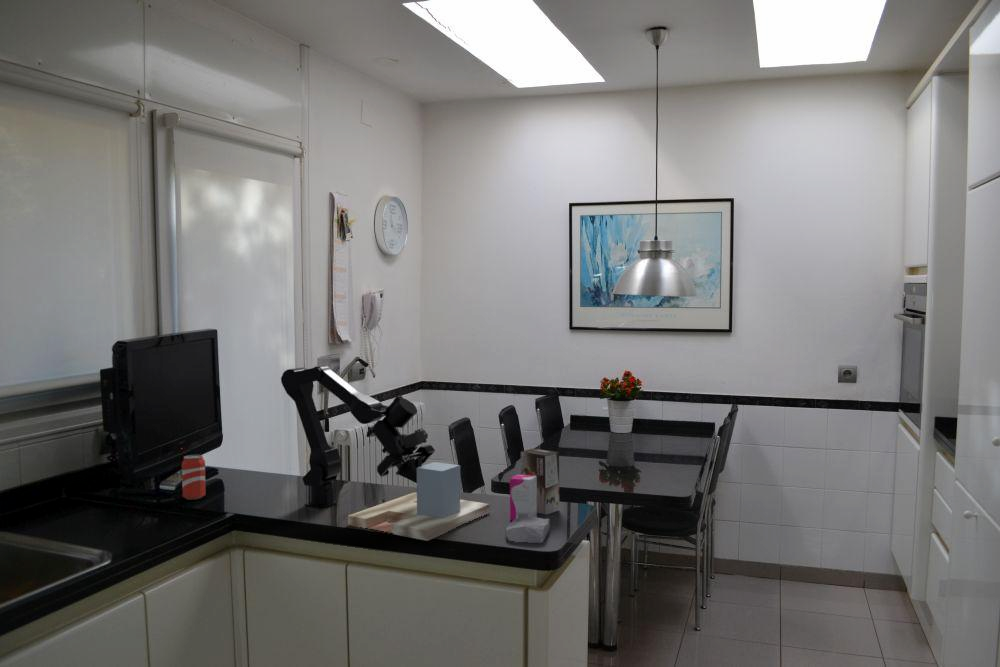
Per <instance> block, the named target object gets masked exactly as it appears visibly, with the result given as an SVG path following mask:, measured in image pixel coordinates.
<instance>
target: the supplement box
mask: <svg viewBox="0 0 1000 667" xmlns="http://www.w3.org/2000/svg"><path fill="white" fill-rule="evenodd" d="M537 515H538V513H537V476H533V475H521V474H515V475H514V476H512V477H511V478H509V522H510V523H511V522H513V520H515V519H519V518H525V517H537V518H538V516H537Z"/></svg>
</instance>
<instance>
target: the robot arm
mask: <svg viewBox="0 0 1000 667" xmlns="http://www.w3.org/2000/svg"><path fill="white" fill-rule="evenodd" d="M280 381H281V382H280V383H281V385H282V387H283V390H285V393H286V394H287V395H288V396H289V397H290V398H291V400H293V401H294V403H295V406H296V410H297V413H298V416H299V419H300V422H301V425H302V428H303V431H304V433H305V437H306V439H307V440H306V441H307V443H308V447H309V449H310V454H309V459H308V460H309V461H308V463H309V468H310V469H309V470H308V472H307V473H306V474H305V475H304V476H303V477H302V481H303V485H305V486H308V488H307V490H308V493H307V494H308V502H305V503H304V506H306V507H311V506H312V508H316V507H317V508H318V509H324V508H326V507H330V506H332V505H336V504H337V503H338V502H337V501H336V500H334V495H335V494H334V493H335V492H334V487H333V484H334V483H333V482H335V481H337V478H338V475H339V473H340V472H341V469H342V462H343V459H342V458H341V456H340V452H339V449H338V448H337V447H335V448H332V447H331V446H330V444H328V440H327V438H326V434H325V431H324V429H323V425H322V422H321V419H320V416H319V414H318V410H317V407H316V405H315V402H314V398H313V391H314V386H315V385H314V382H318V383H319V384H320V385H321V386H323V387H324V388H325V389H326V390H327V391H329V392H330V393H332V394H333V395H334V396H335V397H336V398H337V399H339V400H340V401H341V402H343V403H344V405H346V406H347V408H348V409H349V412H350V414H351V415H352V416H353V417H354V418H355V419H356V421H357V422H358V423H359V424H362V425H367V424H372V423H374V422H375V423H374V424H373V425H372V426H367V432H366V438H373V437H375V438H376V439H377V440H378V441H379V444H380V445H381V446H382V447H383V449H381V452H382V453H383V454H386V453H387V454H388V455H386V456H384V458H383V459H382V460H381V461H380V462H379V464H378V465H377V466H376V473H378V475H379V476H380V478H383V477H386V476H388V475H389V474H390V473H389V469H391V468H395V467H396V469H397V471H396V472H395V475H396V476H400V477H403V478H405V479H407V480H409V481H411V482H413V483H415V484H417V467H421V466H423V465H425V463H426V462H427V461H428V460H429V459H430V457H431V456H433V454H434V453H436V450H435V448H434V447H433V446H432V445H431V444H425V443H427V439H428V437H429V434H428V432H426V430H425V429H424V428H423V427H422V428H418V429H415V430H414V432H412V433H410V434H406V433H403V434H401V432H400V431H399V430H398V428H401V429H403V428H405V426H406V425H407V424H408V423H409V422H410V421H411V420H412V418H414V416H416V414H418V409H417V407H416V405H415V404H414V403H413V402H411V401H410V400H408V399H406V398H404V397H403V396H402V395H398V396H396V397H395V398H394V399H393V401H392V402H391V403H390V404H389V405H384V404H382V402H381V401H379V400H377V399H376V398H373V397H371V396H369V395H366V394H363V393H361V392H359V391H358V390H357V389H355V388H354V387H353V386H351V385H350V384H349V383H348V382H346V381H345V379H343V378H342V377H340V376H339V375H338V374H336V372H334V371H333V370H332V369H331V367H330V366H328V365H317V366H314V367H311V368H306V367H296V368H290V369H285V371H284V372H283V373H282V375H281V377H280ZM421 444H425V445H422V446H421ZM419 445H420V446H419ZM418 446H419V447H418ZM414 451H415V452H414Z"/></svg>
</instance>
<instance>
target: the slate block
mask: <svg viewBox="0 0 1000 667" xmlns="http://www.w3.org/2000/svg"><path fill="white" fill-rule="evenodd" d="M416 492H417V514H420V515H425V516H431V517H437V518H442V519H443V518H445V517H448V516H450V515H452V514H455V513H457V512H459V511H460V499H461V465H459V464H453V463H452V464H451V463H446V462H445V463H444V462H437V461H433V462H431V463H430V462H429V463H427V464H423V465H422V466H421V467H417V483H416Z"/></svg>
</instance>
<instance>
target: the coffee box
mask: <svg viewBox="0 0 1000 667" xmlns="http://www.w3.org/2000/svg"><path fill="white" fill-rule="evenodd" d="M520 475H533V476H537V514H540V515H550V514H553V513H557V512H559V511H560V452H559V451H552V450H546V449H542V448H531V449H525V450H522V451H520Z"/></svg>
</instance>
